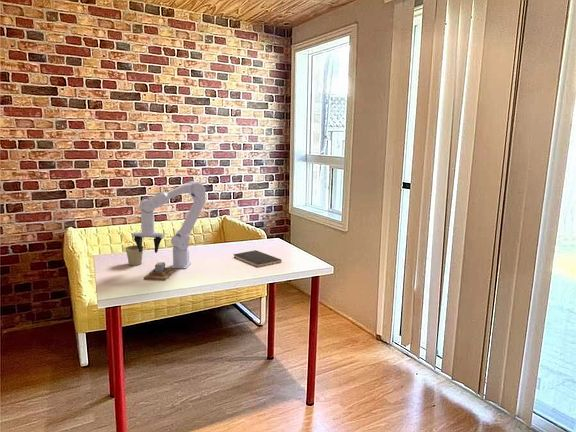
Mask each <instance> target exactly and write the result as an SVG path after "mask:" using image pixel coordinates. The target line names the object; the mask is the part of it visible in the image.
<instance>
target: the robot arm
mask: <svg viewBox="0 0 576 432" xmlns="http://www.w3.org/2000/svg"><path fill="white" fill-rule="evenodd" d="M206 191H207V190H206V188H205V185H204V184H203V183H201V182H197V181H194V180H190V181H188V182H185V183H183V184H181V185H180V186H177V187H175V188H173V189H171V190H170V191H168V192H160V191H158V192H157V193H156V194H155V195H153V196H148V197H147V198H148V199H147V198H144V199H142V200H141V201H140V202H139V206H138V207H139V209H140V213H141V214H140V221H141V223H140V224H141V225H140V226H141V227H140V229H141V232H138V231H137V232H132V233H131V235H132V238H133V241H134V242H135V245H137V246H138V249H139V252H142V246H143V238H153V243H154V244H153V245H154V253H156V254H157V253H158V251H159V247H160V244H161V242H162V239H163V238H164V233H160V232H155V223H154V222H155V217H154V216H155V215H154V211H155V209H157V208H159V207H161V206H162V207H163V206H164V205H165V204H168V203H169V201H170V199H173V198H175V197H177V196H180V195H182V194H190V196H191V197H192V200H193V203H192V204H191V207H190V209H189V210H188V212H187V215H186V217H185V218H184V221H183V223H182V225H181V227H180V229H178V230H177V231H176V233H175V234H174V235H172V237H171V245H172V246H173V247H172V265H171V266H170V267H169V268H171V269H185V270H186V269H187V268H188V267H189V266H190V265H191V264H192V262H190V251H189V249H188V248H189V245H190V240H191V232H192V231H193V228H194V227H195V224H196V222H197V220H198V218H199V216H200V214H201V212H202V211H203V210H202V209H203V208H204V205H205V203H206Z"/></svg>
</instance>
